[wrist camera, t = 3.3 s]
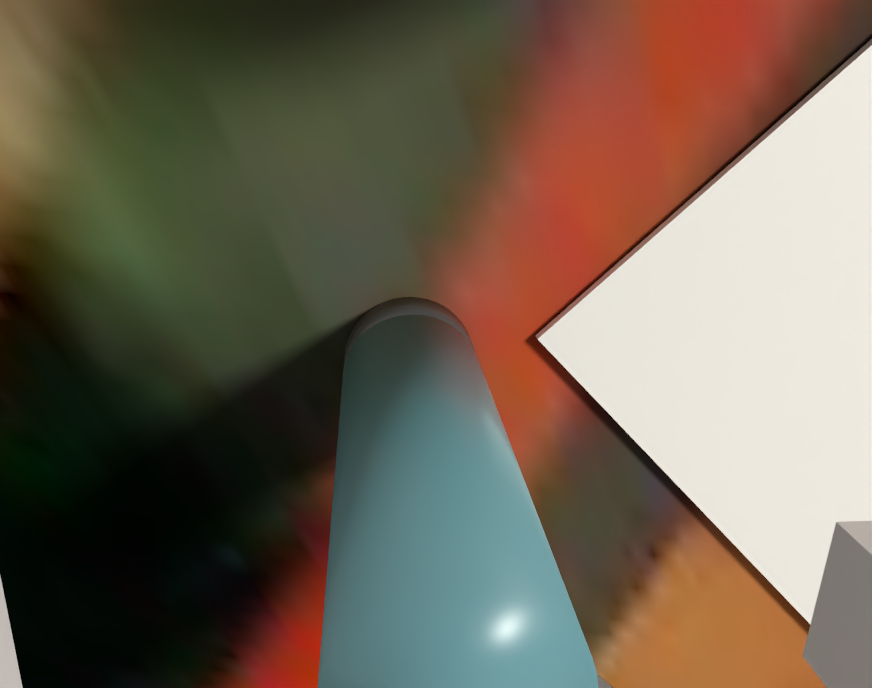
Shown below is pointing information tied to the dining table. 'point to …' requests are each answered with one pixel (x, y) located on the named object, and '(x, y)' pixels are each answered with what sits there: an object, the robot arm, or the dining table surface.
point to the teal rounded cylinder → (436, 525)
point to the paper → (753, 338)
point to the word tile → (602, 683)
